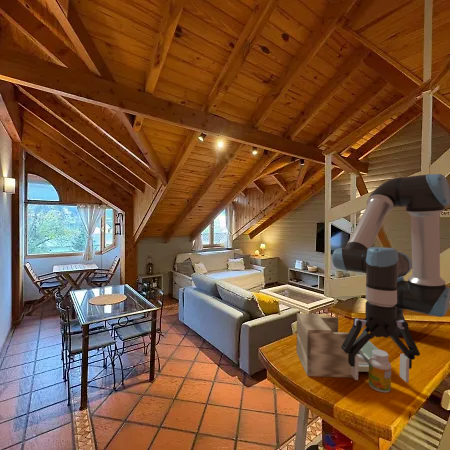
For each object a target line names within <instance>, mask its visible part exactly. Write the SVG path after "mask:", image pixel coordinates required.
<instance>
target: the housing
mask: <svg viewBox="0 0 450 450" xmlns="http://www.w3.org/2000/svg"><path fill="white" fill-rule="evenodd" d="M348 333H349V332H343V331H342V332H339V317H338V316H320V315H319V314H318V313H307V312H306V313H304V312H297V313H296V354H297V357H298V359H299V361H300V363H301V366H302V367H303V370H304V371H305V374H306V376H307V377H325V378H326V377H327V378H329V377H331V378H350V379H351V378H352V379H354V378H353V376H352V375H351V366H350V364H349V363H348V353H345V352H344V350H343V349H342V348H341V347H342V344H343V343H344V341H345V339H346V337H347V335H348Z"/></svg>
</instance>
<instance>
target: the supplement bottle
mask: <svg viewBox="0 0 450 450" xmlns="http://www.w3.org/2000/svg"><path fill="white" fill-rule="evenodd" d="M378 349H379V348H378ZM378 349H374V350H372V357H371V358H370V359H369V372H368V385H369V387H370V388H371V389H373V390H375V391H377V392H379V393H389V392H391V390H392V384H391V383H392V364H391V362H390V361H389V353H388V352H387V351H385V350H383V349H379V350H378Z"/></svg>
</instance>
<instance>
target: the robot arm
mask: <svg viewBox="0 0 450 450" xmlns="http://www.w3.org/2000/svg"><path fill="white" fill-rule="evenodd" d="M449 205H450V185H449V181H448V179H447V178H446V176H445V175H444V174H441V173H431V174H430V173H428V174H422V175H421V174H420V175H410V176H403V177H394V178H392V179H389V180H387V181H385V182H383V183H381V184H380V185H378V187H376V188H375V189H374V190H373V191H372V192H371V194H369V196H368V198H367V200H366V208H365V209H364V211H363V213H362V215H361V217H360V219H359V221H358V223H357V224H356V226H355V228H354V230H353V232H352V234H351V235H350V237H349V239H348V241H347V244H346V245H345V247H338V248H335V249H334V250H333V252H332V257H331V260H332V264H333V267H335V269H338V270H342V271H346V272H355V273H361V274H362V273H363V274H365V275H366V276H365V279H366V280H365V282H366V283H365V300H366V302H365V308H364V310H365V311H364V312H365V318H364V319H360V318H358V317H354V318H353V323H352V326H351V328H350V330H349V331H348V332H347V333H348V335H347V337H346V339H345V341H344V343H343V344H342V347H341V348H342V349H343V350H344V352H345V353H348V363H349V364H350V366H351V375H352V376H353V378H352V379H354V381H359V371H358V361H359V357H358V355H357V353H358V352H359V351H360V350H361V348H362V347H363V346H364V345H365V344H366V343H367V342H368V341H371V340H372V339H374V337H375V338H381V337H382V338H389V337H390V338H391V340H392V341H393V342H394V343H395V345H396V346H397V347H398V349H400V350H401V352H402V353H400V355H399V377H400V378H401V379H402V380H403V381H404V382H405V383H409V382H410V380H409V378H410V370H411V369H412V368H413V367H412V366H413V360H415V359H416V356H417V357H419V356H421V353H420V351H419V350H420V349H419V348H418V347H417V344H416V342H415V341H414V338H413V335H412V334H411V332H410V329H409V323H408V322H407V321H406V319H405V316H404V310H405V311H411V312H414V313H419V314H424V315H426V316H427V315H428V316H433V317H439V318H442V317H444V316H446V314H447V312H448V310H449V307H450V286H446V280H445V279H443V278H442V277H441V257H440V256H441V253H440V252H441V251H440V250H441V247H440V246H441V245H440V241H441V239H440V235H441V234H440V232H441V231H440V216H441V214H442V213H443V212H444V211H445V208H446V207H447V206H449ZM445 206H446V207H445ZM397 207H398V208H399V207H400V208H403V207H404V208H405V212H406V213H407V214H408V215H409V216H410V228H411V230H410V232H411V235H410V236H411V237H410V238H411V258H410V257H409V256H408V254H406V253H404V252H400V251H398V250H397V249H396V248H392V247H385V246H384V247H382V246H381V247H379V246H378V247H377V246H373V244H374V242H375V240H376V238H377V236H378V234H379V233H380V229H381V228H382V226H383V224H384V221H385V219H386V218H387V215H388V214H389V213H390V212H392V211H393V209H394V208H397ZM411 271H412V274H411V275H410V276H408V278H407V280H405V278H404V277H405V276H406V275H407V274H409V273H410V272H411ZM364 326H365V327H364ZM362 329H363V330H362ZM361 331H362V333H361ZM360 333H361V334H360ZM359 334H360V335H359ZM400 337H403V339H404V341H405V343H406V345H407V346H406V345H405V343H404V342H403V341H402V340H401V338H400Z"/></svg>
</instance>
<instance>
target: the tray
mask: <svg viewBox="0 0 450 450" xmlns="http://www.w3.org/2000/svg"><path fill="white" fill-rule="evenodd" d="M374 349H378V350H380V349H379V348H378V347H377V346H376V345H374V344H373V343H372V342H371V340H369V341H368V342H367V343H366V344H365V345H364V346H363V347H362V348H361V350H360V351H359V352H358V353H357V355H358V357H359V361H358V372H362V373H364V372H366V373H369V359H370V358H371V357H372V350H374Z"/></svg>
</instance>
